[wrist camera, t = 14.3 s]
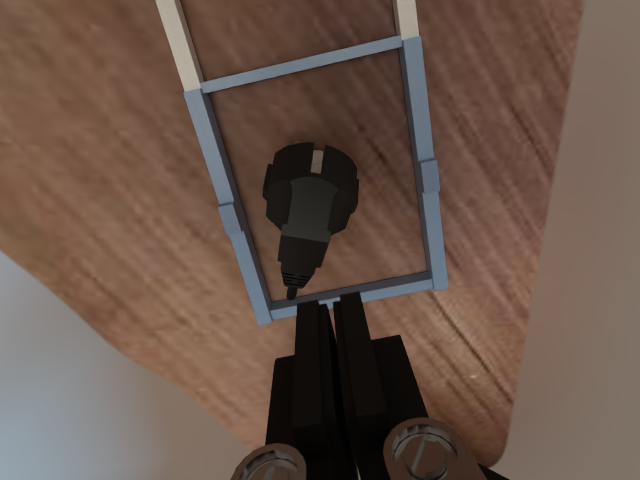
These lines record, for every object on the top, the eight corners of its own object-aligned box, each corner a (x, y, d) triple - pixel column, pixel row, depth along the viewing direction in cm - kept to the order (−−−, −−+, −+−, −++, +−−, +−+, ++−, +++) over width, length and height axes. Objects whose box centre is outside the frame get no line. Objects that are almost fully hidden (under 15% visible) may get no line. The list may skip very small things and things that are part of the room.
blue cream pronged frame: (92, -217, 20) (67, -252, 18) (374, -301, 19) (382, -348, 17) (261, 313, 31) (257, 330, 29) (441, 278, 30) (451, 292, 28)
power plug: (251, 300, 30) (254, 202, 20) (268, 218, 34) (277, 102, 24) (326, 311, 30) (367, 221, 20) (333, 229, 34) (369, 119, 24)
